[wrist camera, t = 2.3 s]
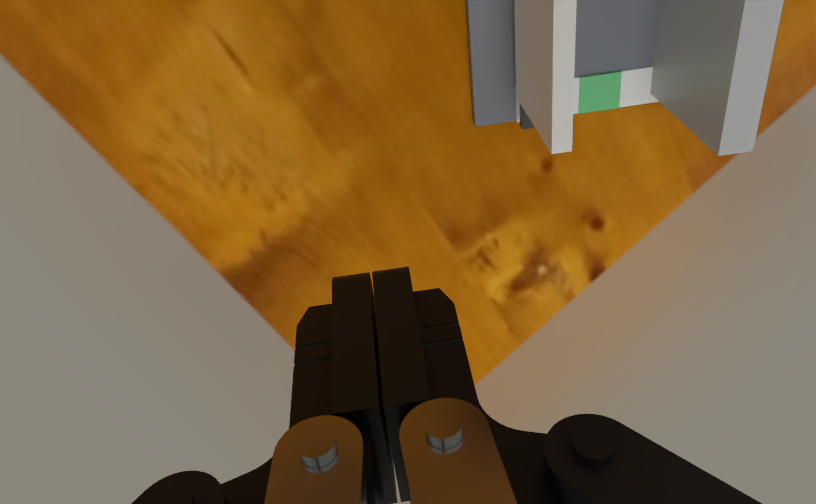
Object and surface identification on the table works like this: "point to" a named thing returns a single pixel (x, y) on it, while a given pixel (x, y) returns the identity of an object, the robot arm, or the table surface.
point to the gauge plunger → (546, 68)
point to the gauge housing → (643, 62)
